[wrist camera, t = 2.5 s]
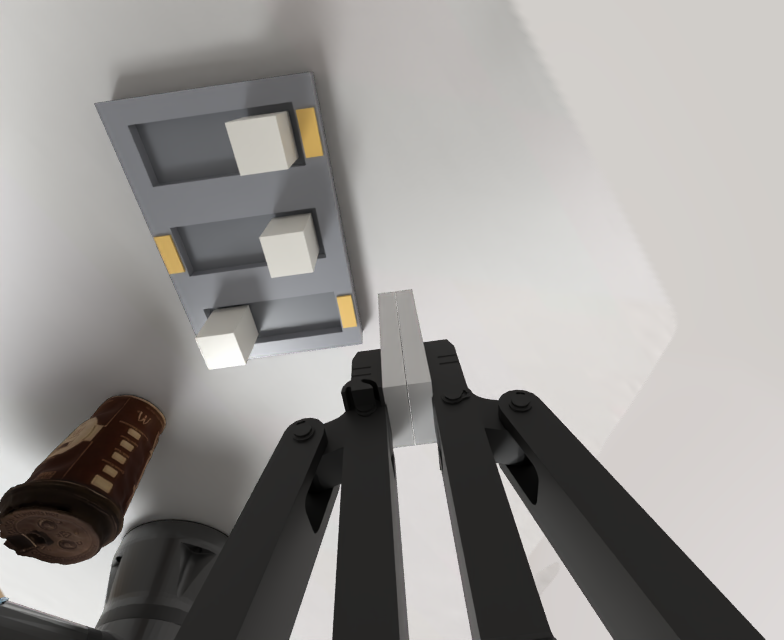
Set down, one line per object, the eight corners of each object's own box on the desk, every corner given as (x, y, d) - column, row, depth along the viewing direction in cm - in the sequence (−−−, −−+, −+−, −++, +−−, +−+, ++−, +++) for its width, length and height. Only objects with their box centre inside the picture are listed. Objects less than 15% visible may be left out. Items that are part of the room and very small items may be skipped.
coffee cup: (79, 430, 43) (-23, 555, 32) (92, 373, 39) (-17, 490, 28) (166, 455, 45) (99, 579, 34) (185, 403, 42) (119, 522, 31)
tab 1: (225, 338, 37) (208, 369, 33) (213, 309, 35) (194, 338, 31) (258, 334, 37) (245, 364, 33) (248, 304, 35) (233, 333, 31)
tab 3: (282, 254, 33) (271, 278, 29) (272, 218, 31) (259, 237, 28) (319, 249, 33) (313, 272, 29) (311, 212, 31) (303, 231, 27)
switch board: (215, 351, 39) (207, 365, 37) (110, 101, 28) (92, 103, 26) (362, 331, 39) (362, 345, 37) (312, 72, 28) (309, 71, 26)
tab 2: (257, 163, 29) (240, 176, 26) (244, 116, 28) (224, 122, 24) (298, 157, 29) (288, 169, 25) (288, 110, 28) (275, 115, 24)
